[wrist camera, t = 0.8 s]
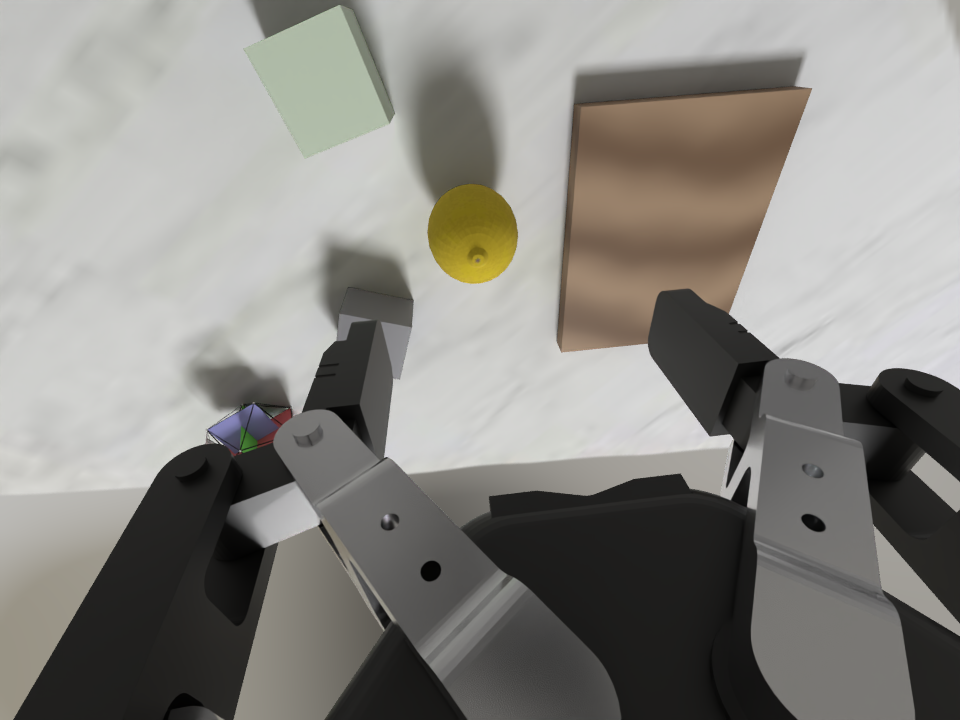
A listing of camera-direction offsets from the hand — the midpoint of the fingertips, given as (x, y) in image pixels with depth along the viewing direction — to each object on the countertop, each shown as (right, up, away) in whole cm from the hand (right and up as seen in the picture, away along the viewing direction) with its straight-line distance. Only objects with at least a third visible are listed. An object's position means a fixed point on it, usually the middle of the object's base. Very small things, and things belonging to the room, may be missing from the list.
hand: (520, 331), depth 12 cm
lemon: (-2, +10, +17) cm, 19 cm away
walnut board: (+12, +8, +19) cm, 24 cm away
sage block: (-9, +15, +11) cm, 21 cm away
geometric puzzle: (-21, -6, +26) cm, 34 cm away
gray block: (-10, +2, +21) cm, 24 cm away
